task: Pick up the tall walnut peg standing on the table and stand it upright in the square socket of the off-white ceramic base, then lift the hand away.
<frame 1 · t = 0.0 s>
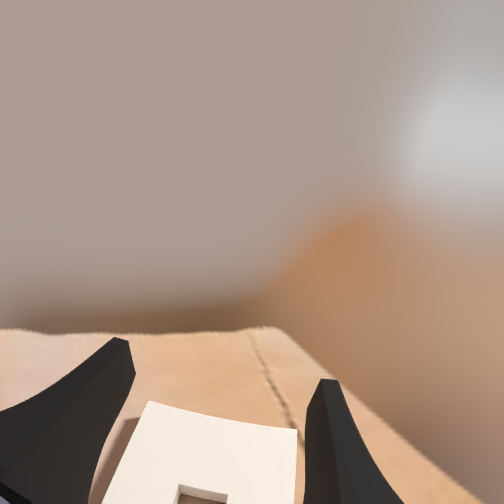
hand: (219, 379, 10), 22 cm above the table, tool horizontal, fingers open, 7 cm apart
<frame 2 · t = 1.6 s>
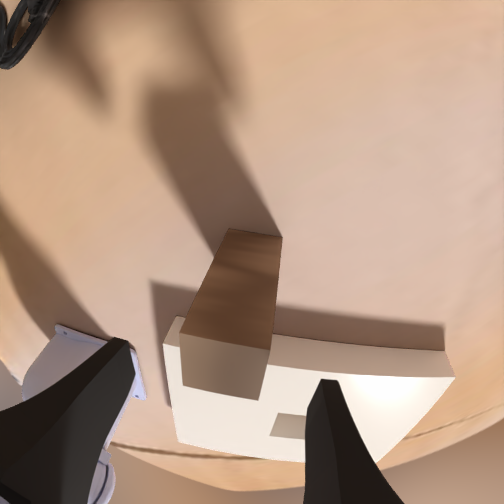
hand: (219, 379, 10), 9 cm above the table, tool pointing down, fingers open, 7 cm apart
walnut peg: (252, 256, 19), on the table
milk frother: (6, 35, 12), on the table
socket base: (299, 400, 25), on the table
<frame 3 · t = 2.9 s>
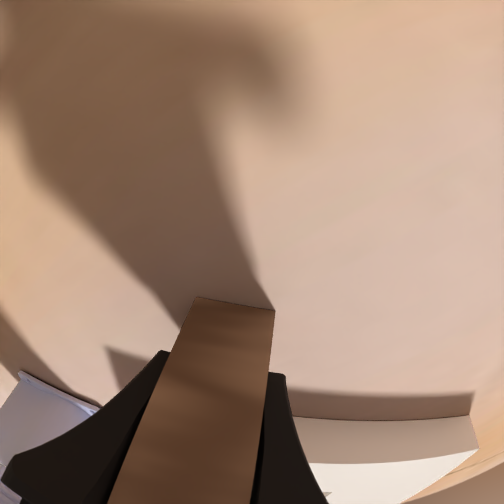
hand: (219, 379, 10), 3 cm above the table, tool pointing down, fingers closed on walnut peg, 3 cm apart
walnut peg: (232, 332, 13), on the table, touching gripper
socket base: (296, 466, 19), on the table
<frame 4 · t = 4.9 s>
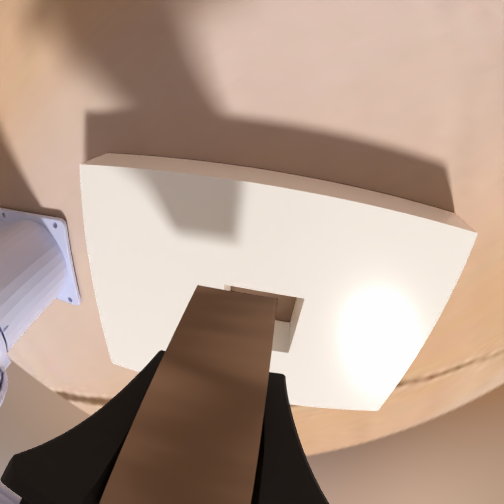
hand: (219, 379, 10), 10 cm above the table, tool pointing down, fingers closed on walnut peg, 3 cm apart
walnut peg: (233, 322, 13), point 7 cm above the table, touching gripper
socket base: (263, 292, 20), on the table
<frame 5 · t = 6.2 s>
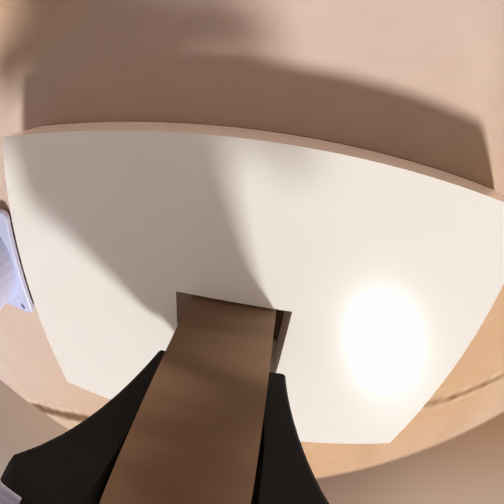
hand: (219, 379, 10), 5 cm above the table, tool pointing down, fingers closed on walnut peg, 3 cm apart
walnut peg: (233, 321, 13), point 2 cm above the table, touching gripper
socket base: (240, 300, 15), on the table
when the fingers open (4 cm above the table, at t = 7.2 s): walnut peg drops 1 cm, resting in socket base.
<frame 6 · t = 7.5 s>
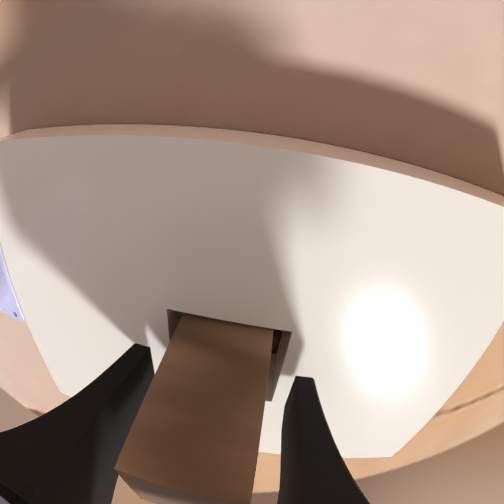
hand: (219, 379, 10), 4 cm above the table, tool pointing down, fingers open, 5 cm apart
walnut peg: (238, 306, 14), resting in socket base
socket base: (237, 314, 14), on the table
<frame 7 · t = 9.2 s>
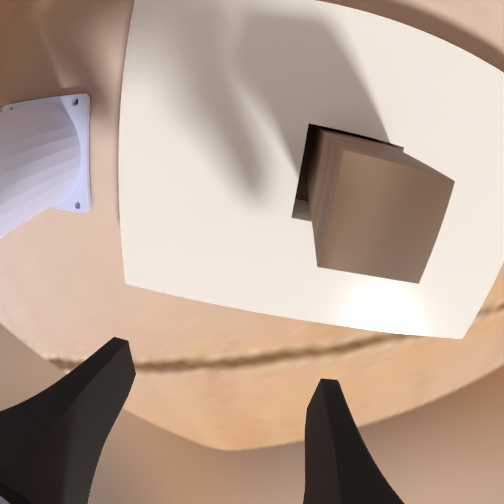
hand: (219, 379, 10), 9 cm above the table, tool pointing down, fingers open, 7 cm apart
walnut peg: (340, 159, 15), resting in socket base
socket base: (339, 168, 15), on the table
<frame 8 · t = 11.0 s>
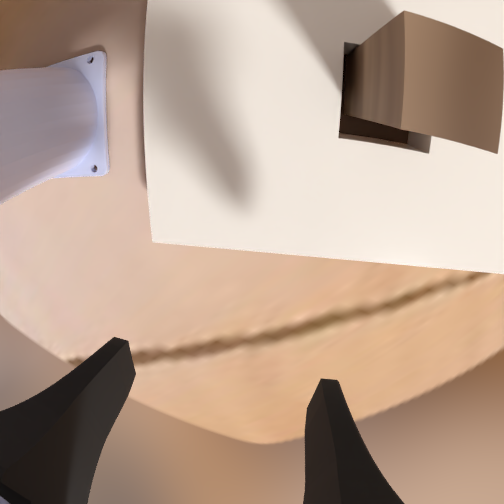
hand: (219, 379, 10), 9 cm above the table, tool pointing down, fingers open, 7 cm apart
walnut peg: (374, 89, 13), resting in socket base
socket base: (373, 97, 13), on the table
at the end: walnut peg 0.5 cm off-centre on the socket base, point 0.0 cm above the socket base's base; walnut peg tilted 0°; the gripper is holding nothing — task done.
